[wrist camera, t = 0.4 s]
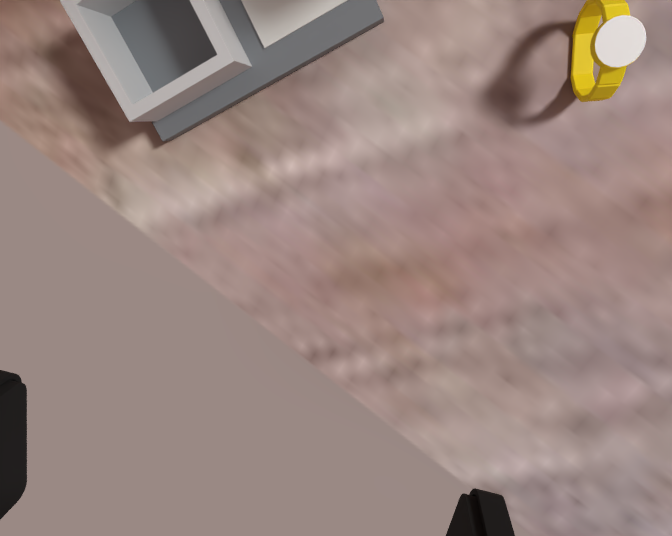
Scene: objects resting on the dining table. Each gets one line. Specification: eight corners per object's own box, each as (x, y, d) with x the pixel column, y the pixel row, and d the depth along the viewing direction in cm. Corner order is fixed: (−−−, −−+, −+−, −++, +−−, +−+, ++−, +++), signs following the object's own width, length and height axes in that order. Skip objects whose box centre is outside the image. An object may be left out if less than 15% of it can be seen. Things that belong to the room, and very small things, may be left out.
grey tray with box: (311, -147, 31) (295, -200, 26) (383, 21, 34) (382, 4, 28) (92, -1, 35) (40, -21, 30) (171, 140, 38) (136, 144, 32)
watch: (561, 12, 33) (597, -18, 27) (605, 7, 32) (651, -24, 27) (558, 106, 34) (592, 96, 28) (600, 102, 34) (643, 92, 28)
